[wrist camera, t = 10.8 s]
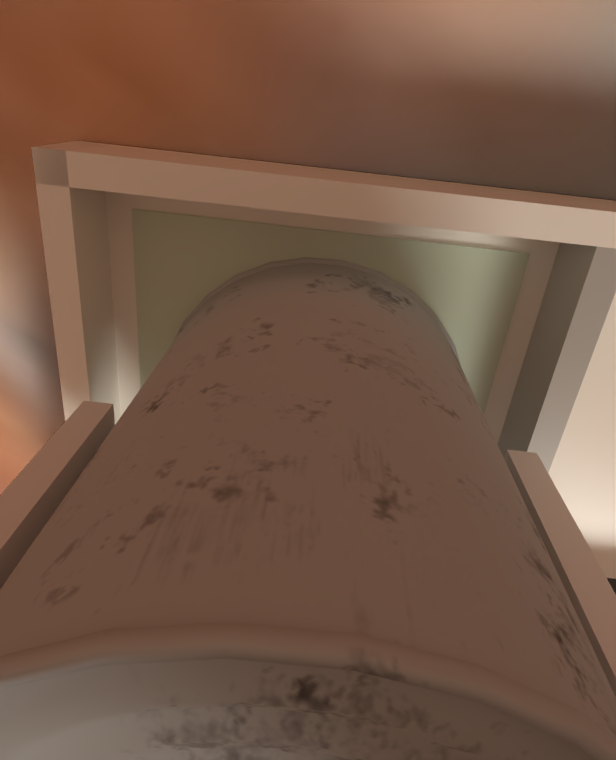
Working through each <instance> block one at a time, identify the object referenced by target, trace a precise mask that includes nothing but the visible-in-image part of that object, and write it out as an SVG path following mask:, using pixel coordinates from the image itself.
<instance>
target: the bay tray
mask: <svg viewBox="0 0 616 760" xmlns="http://www.w3.org/2000/svg"><path fill="white" fill-rule="evenodd" d="M31 151H32V159H33V167H34V175H35V183H36V191H37V199H38V207H39V215H40V223H41V231H42V239H43V247H44V255H45V263H46V271H47V279H48V287H49V295H50V303H51V311H52V319H53V327H54V335H55V343H56V351H57V359H58V367H59V375H60V383H61V391H62V399H63V407H64V415H65V421H66V420H67V419H68V418H69V417H70V416H71V415H72V413H73V412H74V411H75V410H76V409H77V408H78V407H79V405H80V404H81V403H82V402H83V401H93V402H101V403H110V404H113V407H114V420H115V424H116V423H117V422H118V420H119V419H120V417H121V416H122V414H123V413H124V412H125V410H126V409H127V407H128V406H129V404H130V403H131V402H132V400H133V399H134V397H135V396H136V394H137V393H138V392H139V390H140V389H141V387H142V386H143V384H144V383H145V381H146V380H147V379H148V377H149V376H150V374H151V373H152V371H153V370H154V369H155V367H156V366H157V364H158V363H159V361H160V360H161V359H162V357H163V356H164V354H165V353H166V351H167V350H168V349H169V347H170V346H171V344H172V343H173V341H174V339H175V337H176V335H177V333H178V331H179V329H180V327H181V325H182V323H183V321H184V320H185V319H186V318H187V317H188V315H189V314H190V313H191V312H192V311H193V310H194V309H195V308H196V306H197V305H198V304H199V303H200V302H201V301H202V300H203V298H204V297H205V296H206V295H207V294H209V293H210V292H212V291H213V290H215V289H216V288H218V287H219V286H221V285H222V284H223V283H225V282H226V281H228V280H229V279H231V278H232V277H234V276H235V275H238V274H240V273H243V272H246V271H248V270H251V269H253V268H256V267H259V266H261V265H264V264H267V263H269V262H277V261H284V260H291V259H298V258H306V257H307V258H319V259H331V260H342V261H347V262H350V263H353V264H356V265H359V266H363V267H366V268H369V269H372V270H375V271H378V272H381V273H382V274H384V275H386V276H388V277H389V278H391V279H393V280H394V281H396V282H398V283H399V284H401V285H403V286H404V287H406V288H408V289H409V290H411V291H412V292H413V293H414V294H415V295H416V296H417V297H418V298H419V299H420V300H421V301H422V302H423V303H425V304H426V305H427V306H428V307H429V308H430V309H431V310H432V311H433V312H434V313H435V314H436V315H437V317H438V318H439V320H440V322H441V323H442V325H443V327H444V328H445V330H446V332H447V333H448V335H449V337H450V338H451V340H452V341H453V343H454V345H455V348H456V351H457V354H458V358H459V361H460V365H461V368H462V370H463V372H464V374H465V376H466V378H467V381H468V383H469V385H470V387H471V389H472V391H473V393H474V395H475V398H476V400H477V402H478V404H479V406H480V408H481V410H482V413H483V415H484V417H485V419H486V421H487V423H488V425H489V427H490V430H491V432H492V434H493V436H494V438H495V440H496V442H497V445H498V447H499V449H500V451H501V453H502V455H503V457H504V458H505V455H506V452H507V450H516V451H524V452H533V453H537V454H538V456H539V458H540V459H541V461H542V463H543V465H544V467H545V468H546V470H547V472H548V474H549V475H550V477H551V479H552V481H553V483H554V484H555V486H556V488H557V490H558V492H559V493H560V495H561V497H562V499H563V501H564V502H565V504H566V506H567V508H568V510H569V511H570V513H571V515H572V517H573V519H574V520H575V522H576V524H577V526H578V528H579V529H580V531H581V533H582V535H583V537H584V538H585V540H586V542H587V544H588V546H589V547H590V549H591V551H592V553H593V555H594V556H595V558H596V560H597V562H598V564H599V565H600V567H601V569H602V571H603V573H604V574H605V576H606V578H613V579H616V201H614V200H606V199H597V198H588V197H579V196H570V195H561V194H552V193H543V192H534V191H525V190H516V189H507V188H498V187H489V186H480V185H471V184H462V183H453V182H444V181H435V180H426V179H417V178H408V177H399V176H391V175H382V174H373V173H364V172H355V171H346V170H337V169H328V168H319V167H310V166H301V165H292V164H283V163H274V162H265V161H256V160H247V159H238V158H229V157H220V156H211V155H202V154H193V153H184V152H175V151H167V150H158V149H149V148H140V147H131V146H122V145H113V144H104V143H95V142H86V141H72V142H64V143H57V144H49V145H41V146H34V147H31Z"/></svg>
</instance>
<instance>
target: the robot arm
mask: <svg viewBox="0 0 616 760" xmlns="http://www.w3.org/2000/svg"><path fill="white" fill-rule="evenodd" d="M114 426H115V420H114V407H113V404H110V403H101V402H93V401H83V402H82V403H81V404H80V405H79V407H78V408H77V409H76V410H75V411H74V412H73V413H72V415H71V416H70V417H69V418H68V419H67V420H66V421H65V422H64V424H63V425H62V426H61V427H60V428H59V429H58V430H57V431H56V433H55V434H54V435H53V436H52V437H51V438H50V439H49V441H48V442H47V443H46V444H45V445H44V446H43V447H42V448H41V450H40V451H39V452H38V453H37V454H36V455H35V456H34V457H33V459H32V460H31V461H30V462H29V463H28V464H27V465H26V467H25V468H24V469H23V470H22V471H21V472H20V473H19V474H18V476H17V477H16V478H15V479H14V480H13V481H12V482H11V483H10V485H9V486H8V487H7V488H6V489H5V490H4V491H3V493H2V494H1V495H0V589H1V588H2V586H3V585H4V583H5V582H6V580H7V579H8V578H9V576H10V575H11V573H12V572H13V570H14V569H15V568H16V566H17V565H18V563H19V562H20V560H21V559H22V557H23V556H24V555H25V553H26V552H27V550H28V549H29V547H30V546H31V545H32V543H33V542H34V540H35V539H36V537H37V536H38V535H39V533H40V532H41V530H42V529H43V527H44V526H45V525H46V523H47V522H48V520H49V519H50V517H51V516H52V515H53V513H54V512H55V510H56V509H57V507H58V506H59V505H60V503H61V502H62V500H63V499H64V497H65V496H66V495H67V493H68V492H69V490H70V489H71V487H72V486H73V485H74V483H75V482H76V480H77V479H78V477H79V476H80V474H81V473H82V472H83V470H84V469H85V467H86V466H87V464H88V463H89V462H90V460H91V459H92V457H93V456H94V454H95V453H96V452H97V450H98V449H99V447H100V446H101V444H102V443H103V442H104V440H105V439H106V437H107V436H108V434H109V433H110V432H111V430H112V429H113V427H114ZM504 459H505V462H506V464H507V466H508V468H509V470H510V472H511V474H512V477H513V479H514V481H515V483H516V485H517V487H518V489H519V492H520V494H521V496H522V498H523V500H524V502H525V504H526V506H527V509H528V511H529V513H530V515H531V517H532V519H533V521H534V524H535V526H536V528H537V530H538V532H539V534H540V536H541V538H542V541H543V543H544V545H545V547H546V549H547V551H548V553H549V556H550V558H551V560H552V562H553V564H554V566H555V568H556V571H557V573H558V575H559V577H560V579H561V581H562V583H563V585H564V588H565V590H566V592H567V594H568V596H569V598H570V600H571V603H572V605H573V607H574V609H575V611H576V613H577V615H578V617H579V620H580V622H581V624H582V626H583V628H584V630H585V632H586V635H587V637H588V639H589V641H590V643H591V645H592V647H593V649H594V652H595V654H596V656H597V658H598V660H599V662H600V664H601V667H602V669H603V671H604V673H605V675H606V677H607V679H608V682H609V684H610V686H611V688H612V690H613V692H614V694H615V696H616V579H613V578H606V576H605V574H604V573H603V571H602V569H601V567H600V565H599V564H598V562H597V560H596V558H595V556H594V555H593V553H592V551H591V549H590V547H589V546H588V544H587V542H586V540H585V538H584V537H583V535H582V533H581V531H580V529H579V528H578V526H577V524H576V522H575V520H574V519H573V517H572V515H571V513H570V511H569V510H568V508H567V506H566V504H565V502H564V501H563V499H562V497H561V495H560V493H559V492H558V490H557V488H556V486H555V484H554V483H553V481H552V479H551V477H550V475H549V474H548V472H547V470H546V468H545V467H544V465H543V463H542V461H541V459H540V458H539V456H538V454H537V453H533V452H524V451H516V450H507V452H506V455H505V458H504Z"/></svg>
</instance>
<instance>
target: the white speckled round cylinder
mask: <svg viewBox="0 0 616 760" xmlns="http://www.w3.org/2000/svg"><path fill="white" fill-rule="evenodd" d="M0 760H616V696H615V694H614V692H613V690H612V688H611V686H610V684H609V682H608V679H607V677H606V675H605V673H604V671H603V669H602V667H601V664H600V662H599V660H598V658H597V656H596V654H595V652H594V649H593V647H592V645H591V643H590V641H589V639H588V637H587V635H586V632H585V630H584V628H583V626H582V624H581V622H580V620H579V617H578V615H577V613H576V611H575V609H574V607H573V605H572V603H571V600H570V598H569V596H568V594H567V592H566V590H565V588H564V585H563V583H562V581H561V579H560V577H559V575H558V573H557V571H556V568H555V566H554V564H553V562H552V560H551V558H550V556H549V553H548V551H547V549H546V547H545V545H544V543H543V541H542V538H541V536H540V534H539V532H538V530H537V528H536V526H535V524H534V521H533V519H532V517H531V515H530V513H529V511H528V509H527V506H526V504H525V502H524V500H523V498H522V496H521V494H520V492H519V489H518V487H517V485H516V483H515V481H514V479H513V477H512V474H511V472H510V470H509V468H508V466H507V464H506V462H505V459H504V457H503V455H502V453H501V451H500V449H499V447H498V445H497V442H496V440H495V438H494V436H493V434H492V432H491V430H490V427H489V425H488V423H487V421H486V419H485V417H484V415H483V413H482V410H481V408H480V406H479V404H478V402H477V400H476V398H475V395H474V393H473V391H472V389H471V387H470V385H469V383H468V381H467V378H466V376H465V374H464V372H463V370H462V368H461V365H460V361H459V358H458V354H457V351H456V348H455V345H454V343H453V341H452V340H451V338H450V337H449V335H448V333H447V332H446V330H445V328H444V327H443V325H442V323H441V322H440V320H439V318H438V317H437V315H436V314H435V313H434V312H433V311H432V310H431V309H430V308H429V307H428V306H427V305H426V304H425V303H423V302H422V301H421V300H420V299H419V298H418V297H417V296H416V295H415V294H414V293H413V292H412V291H411V290H409V289H408V288H406V287H404V286H403V285H401V284H399V283H398V282H396V281H394V280H393V279H391V278H389V277H388V276H386V275H384V274H382V273H381V272H378V271H375V270H372V269H369V268H366V267H363V266H359V265H356V264H353V263H350V262H347V261H342V260H331V259H319V258H307V257H306V258H298V259H291V260H284V261H277V262H269V263H267V264H264V265H261V266H259V267H256V268H253V269H251V270H248V271H246V272H243V273H240V274H238V275H235V276H234V277H232V278H231V279H229V280H228V281H226V282H225V283H223V284H222V285H221V286H219V287H218V288H216V289H215V290H213V291H212V292H210V293H209V294H207V295H206V296H205V297H204V298H203V300H202V301H201V302H200V303H199V304H198V305H197V306H196V308H195V309H194V310H193V311H192V312H191V313H190V314H189V315H188V317H187V318H186V319H185V320H184V321H183V323H182V325H181V327H180V329H179V331H178V333H177V335H176V337H175V339H174V341H173V343H172V344H171V346H170V347H169V349H168V350H167V351H166V353H165V354H164V356H163V357H162V359H161V360H160V361H159V363H158V364H157V366H156V367H155V369H154V370H153V371H152V373H151V374H150V376H149V377H148V379H147V380H146V381H145V383H144V384H143V386H142V387H141V389H140V390H139V392H138V393H137V394H136V396H135V397H134V399H133V400H132V402H131V403H130V404H129V406H128V407H127V409H126V410H125V412H124V413H123V414H122V416H121V417H120V419H119V420H118V422H117V423H116V424H115V426H114V427H113V429H112V430H111V432H110V433H109V434H108V436H107V437H106V439H105V440H104V442H103V443H102V444H101V446H100V447H99V449H98V450H97V452H96V453H95V454H94V456H93V457H92V459H91V460H90V462H89V463H88V464H87V466H86V467H85V469H84V470H83V472H82V473H81V474H80V476H79V477H78V479H77V480H76V482H75V483H74V485H73V486H72V487H71V489H70V490H69V492H68V493H67V495H66V496H65V497H64V499H63V500H62V502H61V503H60V505H59V506H58V507H57V509H56V510H55V512H54V513H53V515H52V516H51V517H50V519H49V520H48V522H47V523H46V525H45V526H44V527H43V529H42V530H41V532H40V533H39V535H38V536H37V537H36V539H35V540H34V542H33V543H32V545H31V546H30V547H29V549H28V550H27V552H26V553H25V555H24V556H23V557H22V559H21V560H20V562H19V563H18V565H17V566H16V568H15V569H14V570H13V572H12V573H11V575H10V576H9V578H8V579H7V580H6V582H5V583H4V585H3V586H2V588H1V589H0Z"/></svg>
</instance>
